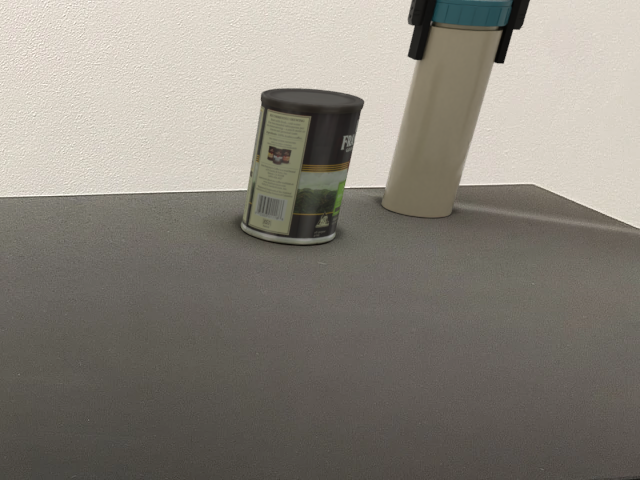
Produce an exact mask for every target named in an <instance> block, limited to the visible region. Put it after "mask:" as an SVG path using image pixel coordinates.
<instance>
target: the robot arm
mask: <svg viewBox="0 0 640 480" xmlns="http://www.w3.org/2000/svg"><path fill="white" fill-rule="evenodd" d="M530 1H531V0H513V2H512V5H511V7H512V9H511V12H510V16H509V19H508V23H507V24H506V25H505V26H499V28H501V29H503V32H502V36H501V39H500V43H499V46H498V50H497V53H496V57H495V60H494V64H500V65H501V64H502V65H503V64H505V61H506V57H507V53H508V51H509V47H510V44H511V39H512V36H513V33H514V31H515V30H517V31H520V30H521V29H522V27H523V26H524V23H525V19H526V16H527V12H528V9H529V6H530V3H531V2H530ZM435 3H436V0H411V3H410V8H409V11H408V15H407V25H409V26H412V27H413V30H412V35H411V39H410V44H409V48H408V52H407V58H410V59H412V60H414V61H416V60H422V57H423V53H424V49H425V45H426V40H427V36H428V32H429V28H430V24H431V20H432V16H433V11H434V7H435Z"/></svg>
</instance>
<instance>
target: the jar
mask: <svg viewBox="0 0 640 480" xmlns="http://www.w3.org/2000/svg"><path fill="white" fill-rule="evenodd" d="M502 32H503V29H501V28H499V26H496V27H487V26H467V25H455V24H446V23H439V22H433V21H431V24H430V28H429V32H428V36H427V40H426V45H425V49H424V53H423V57H422V60H415V63H414V67H413V72H412V75H411V81H410V84H409V88H408V92H407V97H406V100H405V105H404V110H403V113H402V118H401V122H400V125H399V130H398V132H397V133H398V134H397V139H396V142H395V146H394V150H393V153H392V159H391V162H390V163H391V164H390V166H389V170H388V175H387V178H386V184H385V188H384V192H383V195H382V199H381V206H382V207H383V208H384V209H386V210H387V211H391V212H394V213H397V214H399V215H403V216H404V215H405V216H410V217H416V218H429V219H432V218H434V219H435V218H437V219H438V218H444V217H448V216H450V215H451V214H452V212H453V208H454V205H455V202H456V198H457V195H458V191H459V188H460V184H461V180H462V177H463V173H464V170H465V167H466V163H467V159H468V156H469V152H470V149H471V145H472V141H473V138H474V134H475V131H476V127H477V124H478V120H479V117H480V113H481V110H482V106H483V103H484V99H485V96H486V92H487V88H488V85H489V81H490V77H491V75H492V71H493V68H494V64H495V63H494V60H495V57H496V53H497V50H498V46H499V43H500V39H501V36H502Z"/></svg>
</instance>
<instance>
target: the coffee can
mask: <svg viewBox="0 0 640 480" xmlns="http://www.w3.org/2000/svg"><path fill="white" fill-rule="evenodd" d="M260 102H261V103H260V108H259V115H258V121H257V127H256V134H255V139H254V145H253V153H252V157H251V158H252V159H251V165H250V171H249V176H248V184H247V190H246V196H245V203H244V209H243V215H242V220H241V223H240V227H241V230H242V231H243V232H245V234H247V235H249V236H251V237H254V238H258V239H260V240H264V241H268V242H272V243H273V242H274V243H279V244H285V245H287V244H288V245H300V246H301V245H304V246H305V245H307V246H309V245H320V244H324V243H329V242H331V241H332V240H334V239H335V238H336V230H337V225H338V222H339V221H338V220H339V215H340V211H341V206H342V201H343V197H344V192H345V188H346V183H347V178H348V174H349V169H350V165H351V159H352V156H353V150H354V145H355V142H356V135H357V131H358V127H359V122H360V119H361V113H362V110H363V108H364V106H365V100H364V98H361V97H359V96H357V95H354V94H350V93H345V92H340V91H334V90H326V89H318V88H317V89H316V88H302V87H301V88H300V87H285V88H283V87H281V88H280V87H279V88H272V89H267V90H264V91H262V92H261V93H260Z"/></svg>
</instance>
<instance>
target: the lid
mask: <svg viewBox="0 0 640 480" xmlns="http://www.w3.org/2000/svg"><path fill="white" fill-rule="evenodd" d="M512 2H513V0H436V3H435V7H434V11H433V16H432V20H431V21H433V22H439V23H446V24H455V25H467V26H487V27H496V26H505V25H506V24H507V23H508V19H509V16H510V12H511V9H512V7H511V5H512Z"/></svg>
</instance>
